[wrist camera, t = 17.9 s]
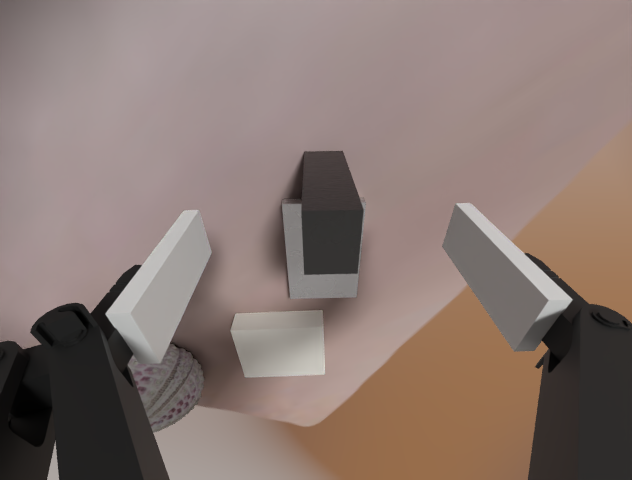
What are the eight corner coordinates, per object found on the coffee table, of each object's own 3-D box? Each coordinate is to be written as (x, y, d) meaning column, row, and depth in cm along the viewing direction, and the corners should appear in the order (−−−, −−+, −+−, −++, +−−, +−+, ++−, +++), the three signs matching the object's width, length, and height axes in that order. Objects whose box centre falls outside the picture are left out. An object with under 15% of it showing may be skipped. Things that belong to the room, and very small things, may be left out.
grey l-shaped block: (290, 292, 30) (283, 383, 21) (278, 152, 21) (259, 211, 13) (355, 290, 30) (373, 380, 21) (368, 150, 22) (405, 208, 13)
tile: (236, 311, 32) (249, 358, 37) (230, 330, 29) (245, 377, 34) (322, 308, 32) (324, 355, 37) (323, 327, 29) (324, 374, 34)
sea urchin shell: (220, 344, 35) (199, 413, 28) (200, 396, 41) (179, 461, 35) (104, 317, 31) (49, 387, 25) (103, 378, 38) (59, 446, 32)
